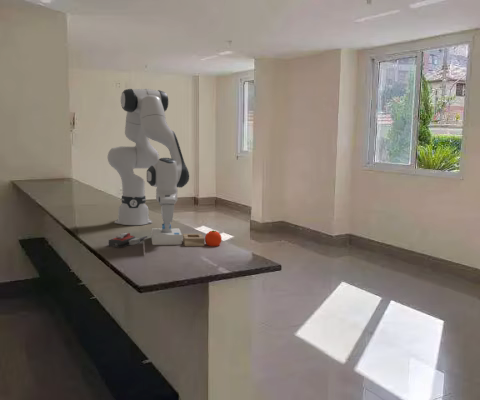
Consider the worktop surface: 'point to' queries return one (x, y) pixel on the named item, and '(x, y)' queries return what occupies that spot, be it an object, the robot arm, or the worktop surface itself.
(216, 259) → the worktop surface
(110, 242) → the walkie-talkie
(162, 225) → the plug
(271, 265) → the worktop surface
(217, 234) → the clementine
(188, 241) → the holster
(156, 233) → the port
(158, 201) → the robot arm
